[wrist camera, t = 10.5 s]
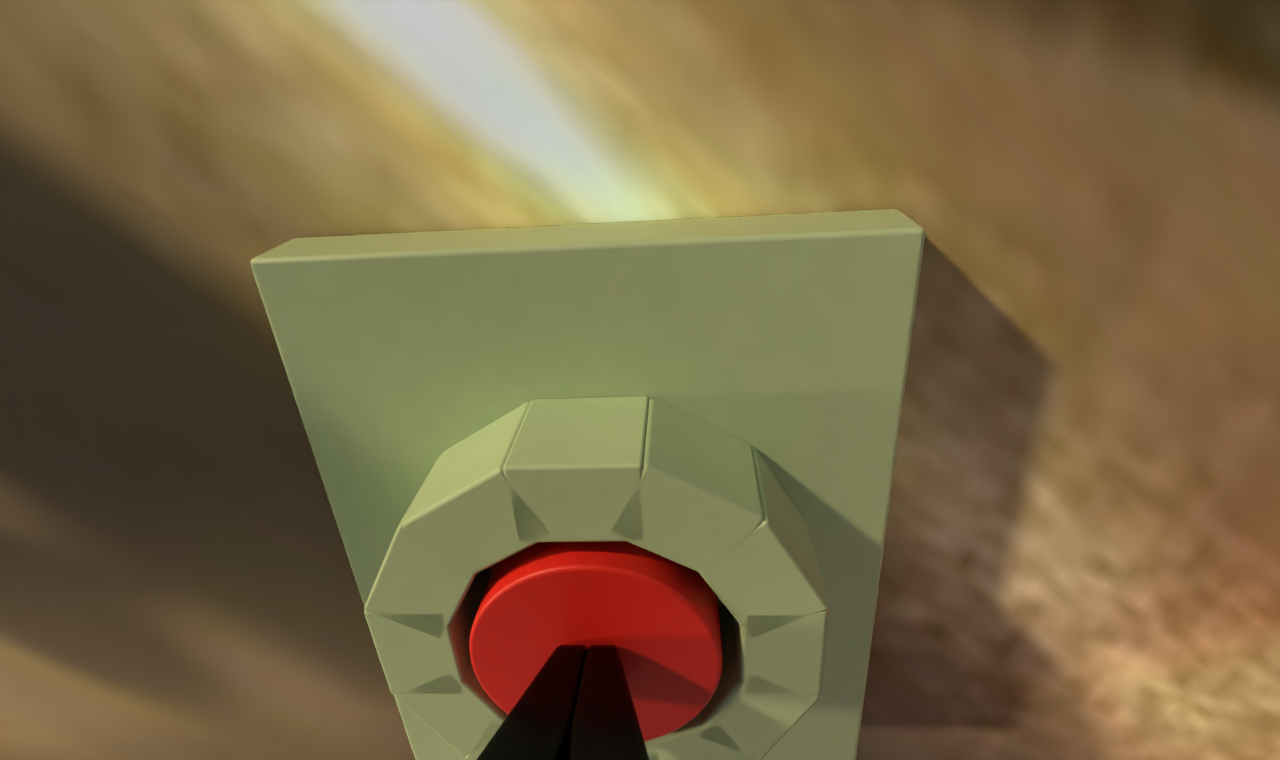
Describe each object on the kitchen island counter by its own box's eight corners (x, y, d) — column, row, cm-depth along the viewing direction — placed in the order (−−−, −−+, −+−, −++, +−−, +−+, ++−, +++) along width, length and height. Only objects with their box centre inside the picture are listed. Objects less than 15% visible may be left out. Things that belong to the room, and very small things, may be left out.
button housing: (842, 722, 14) (879, 878, 12) (436, 717, 15) (382, 864, 12) (900, 207, 9) (987, 271, 7) (291, 237, 10) (151, 305, 7)
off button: (717, 654, 12) (723, 748, 10) (515, 653, 12) (489, 746, 10) (715, 485, 10) (722, 566, 8) (481, 489, 10) (446, 568, 9)
